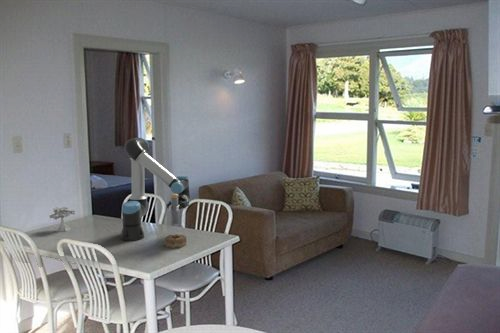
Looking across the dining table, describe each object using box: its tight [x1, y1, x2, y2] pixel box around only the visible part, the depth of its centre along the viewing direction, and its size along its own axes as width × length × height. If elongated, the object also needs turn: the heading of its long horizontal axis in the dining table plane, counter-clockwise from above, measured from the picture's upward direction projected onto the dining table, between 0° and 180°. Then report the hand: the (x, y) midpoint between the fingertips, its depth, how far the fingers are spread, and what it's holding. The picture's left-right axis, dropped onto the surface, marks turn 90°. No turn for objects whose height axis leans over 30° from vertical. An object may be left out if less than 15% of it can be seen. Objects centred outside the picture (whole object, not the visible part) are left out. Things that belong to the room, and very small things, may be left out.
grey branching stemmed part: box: [48, 206, 76, 233], centre depth 338 cm, size 18×16×17 cm
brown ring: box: [164, 233, 187, 249], centre depth 300 cm, size 12×12×5 cm
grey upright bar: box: [170, 193, 180, 225], centre depth 298 cm, size 4×4×18 cm
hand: (173, 209), depth 293 cm, fingers closed on grey upright bar, 4 cm apart
